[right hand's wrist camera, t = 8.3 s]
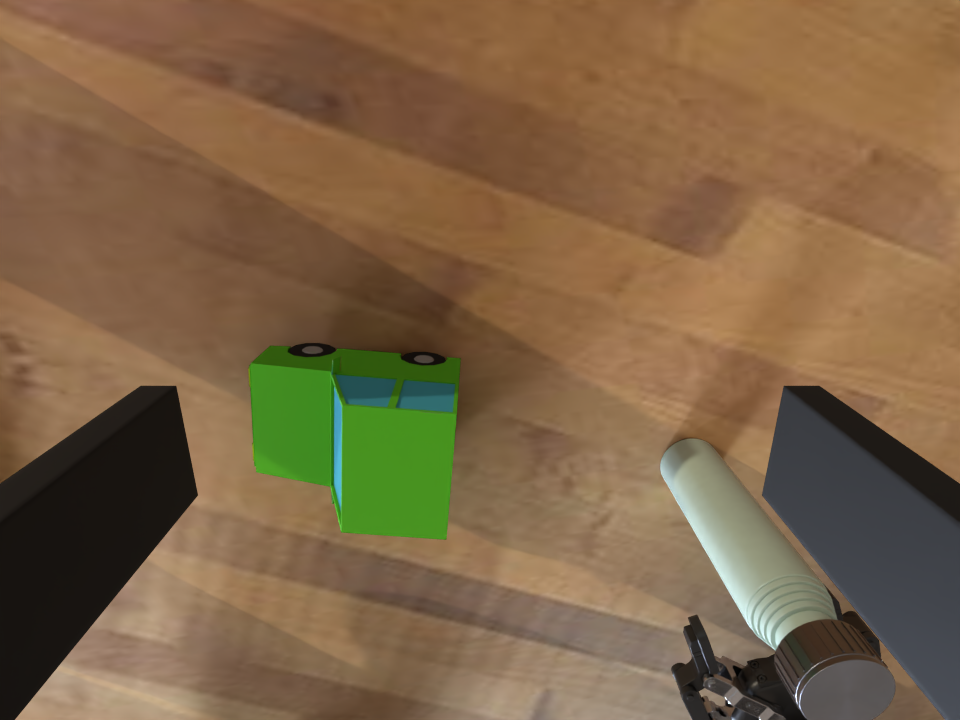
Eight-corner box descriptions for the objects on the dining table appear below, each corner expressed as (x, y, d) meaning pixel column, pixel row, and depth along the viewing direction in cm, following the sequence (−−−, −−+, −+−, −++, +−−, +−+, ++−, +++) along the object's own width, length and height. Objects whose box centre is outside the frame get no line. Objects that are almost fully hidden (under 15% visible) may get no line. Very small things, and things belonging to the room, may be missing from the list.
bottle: (721, 480, 44) (894, 712, 26) (665, 493, 44) (796, 731, 26) (713, 431, 43) (890, 640, 24) (655, 446, 43) (787, 662, 25)
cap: (865, 675, 28) (898, 719, 25) (777, 693, 28) (802, 739, 26) (860, 608, 26) (895, 649, 24) (768, 629, 27) (794, 671, 24)
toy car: (269, 322, 39) (204, 376, 30) (462, 338, 40) (458, 396, 30) (274, 453, 43) (217, 538, 33) (451, 466, 43) (445, 554, 34)
